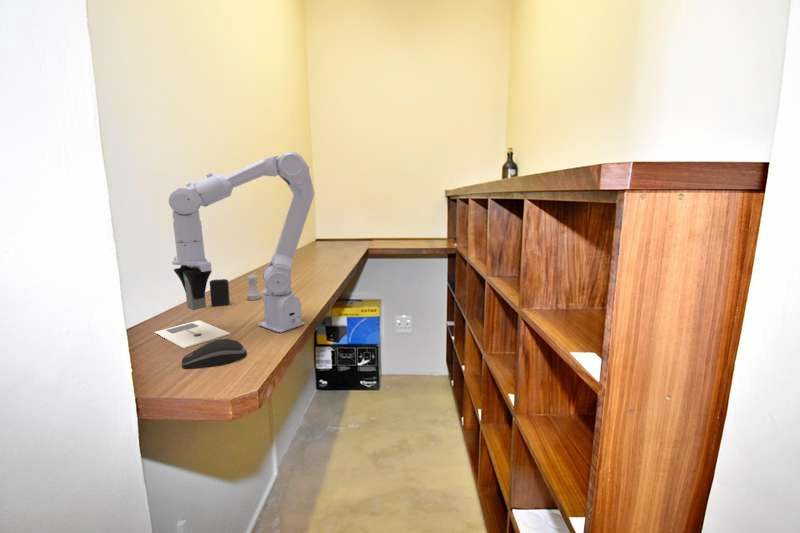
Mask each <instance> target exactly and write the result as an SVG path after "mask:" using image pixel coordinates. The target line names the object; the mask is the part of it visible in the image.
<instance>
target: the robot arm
mask: <svg viewBox="0 0 800 533" xmlns="http://www.w3.org/2000/svg"><path fill="white" fill-rule="evenodd" d="M205 175H206V177H205V178H203V179H201V180H198V181H195V182H194V183H191V182H188V183H186V184H185V185H186V187H178V188H177V189H175V190H174V191H173V192H171V193H170V195H169V197H168V204H169V207H170V208H171V210H172V219H173V221H172V225H173V232H174V242H175V250H176V251H175V252H176V256H174V257H173V260H174V261H171V263H172V265H174V266H179V267H178V268H173V272H174V274H176V275H177V277H178V279H180V281H181V284H182V286H183V290H184V291H185V293H186V290H185V282H184V276H183V273H184V274H185V276H186V277H187V279H188V281H189V283H190V286H191V291H192V294H193V297H194V299H200V298H204V296H205V297H206V290H207V289H206V288H207V285H208V280H209V278H210V276H211V274H212V269H213V268H212V263H211V262H210V261H208V258H206V255H205V245H204V237H203V226H202V221H201V218H200V208H201V207H204V208H206V207H209V206H211V205H213V204H215V203H217V202H220V201H222V200H224V199H226V198H228V197H231V196H232V193H233V189H234V188H237V187H239V186H243V185H244V184H247V183H249V182H251V181H254V180H256V179H259V178H261V177H264V176H265V177H275V178H276V177H277V176H279V177H280V178H281V179H282V180H283V181H284V182H285V183H286V184H287V186H288V187H289V189H290V191H291V193H292V199H291V202H290V205H289V208H288V210H287V214H286V217H285V221H284V223H283V227H282V229H281V233H280V236H279V239H278V243H277V245H276V249H275V252H274V254H273V256H272V258H271V259H270V262H269V264H268V265H267V266H266V267H265V268H264V270H263V272H262V279H263V281H264V287H265V288H264V289H263V290H262V298H263V311H264V312H263V313H264V321H262V322H258V324H257V325H258V326H260V327H263V328H266V329H267V330H270V331H273V332H277V333H279V332H280V333H284V332H286V331H288V330H292V329H294V328H297V327H298V328H299V327H301V326H303V325H305V322H304V321H303V318H302V317H303V316H302V303H301V300H300V299H299V297H298V296H296V295H295V294H294V292H293V288H292V287H291V284H292V278H291V272H292V269H293V263H294V262H293V261H294V258H295V254H296V252H297V248H298V246H299V242H300V239H301V236H302V232H303V230H304V227H305V223H306V220H307V218H308V214H309V213H310V208H311V206H312V203H313V200H314V197H315V190H314V186H313V181H312V178H311V172H310V166H308V163H307V162H306V161H305V159H304V157H303V156H302V155H301V154H299V153H297V152H295V151H287V152H284V153H283V154H281V155H280V154H276V155H273V156H269V157H267V158H263V159H261V160H258V161H255V162H253V163H252V164H250V165H248V166H245V167H244V168H241V169H238V170H237V171H234V172H232V173H230V174H228V175H224V174H221V173H218V172H217V173H215V174H213V173H212V172H211V173H208V174H205Z"/></svg>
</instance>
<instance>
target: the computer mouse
mask: <svg viewBox="0 0 800 533" xmlns="http://www.w3.org/2000/svg"><path fill="white" fill-rule="evenodd" d="M247 355H248V352H247V350H246V348H245V347H244V345H242V343H241V342H239V341H238V340H235V339H230V338H220V339H219V338H218V339H214V340H211V341H209V342H207V343H205V344H204V345H202V346H200V347H198V348H197V349H195V350H193V351H192V352H190V353H188V354H186V355H185V356H184V357H183V358H182V359H181V367H182V369H185V370H195V369H196V370H197V369H205V368H212V367H219V366H224V365H229V364H232V363H236V362H238V361H237V360H239V361H241V360H242V358H243V359H244V357H245V356H247ZM245 358H246V357H245ZM240 359H241V360H240ZM235 361H236V362H235Z"/></svg>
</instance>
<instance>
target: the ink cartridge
mask: <svg viewBox="0 0 800 533" xmlns="http://www.w3.org/2000/svg"><path fill="white" fill-rule="evenodd" d="M229 285H230V284H229V279H226V278H225V279H224V278H221V279H212V280H210V281H209V291H210V301H211V302H210V303H211V306H212V307H223V306H229V305H230V304H231V299H230V286H229Z"/></svg>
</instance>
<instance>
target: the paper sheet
mask: <svg viewBox="0 0 800 533" xmlns="http://www.w3.org/2000/svg"><path fill="white" fill-rule="evenodd" d="M153 333H154V334H155V333H156V334H155V335H157V334H158V335H160V336H161V337H160V336H159V337H160V338H162V337H163V338H162V339H164V338H165V339H164V340H166V341H168V342H170V343H172V344H174V345H175V346H178V347H179V348H181V349H184V350H185V349H188V348H191V347H195V346H197V345H201V344H203V343H208V342H211V341H215V340H218V339H219V338H220V339H221V338H222V337H226V336H230V335H231V333H230V332H229V331H227V330H224V329H222V328H219V327H216V326H213V325H211V324H209V323H206V322H204V321H202V320H200V319H199V320H198V319H197V320H195V321H191V322H188V323H183V324H179V325H176V326H172V327H167V328H165V329H161V330H157V331H153ZM158 335H157V336H158Z"/></svg>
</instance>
